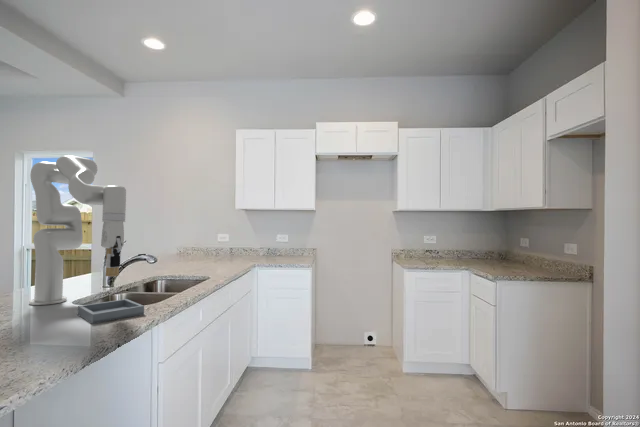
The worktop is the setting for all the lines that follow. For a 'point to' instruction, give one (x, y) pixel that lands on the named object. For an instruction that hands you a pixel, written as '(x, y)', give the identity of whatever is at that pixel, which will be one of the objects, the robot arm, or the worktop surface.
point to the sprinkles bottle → (109, 270)
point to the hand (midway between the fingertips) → (112, 265)
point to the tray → (110, 310)
